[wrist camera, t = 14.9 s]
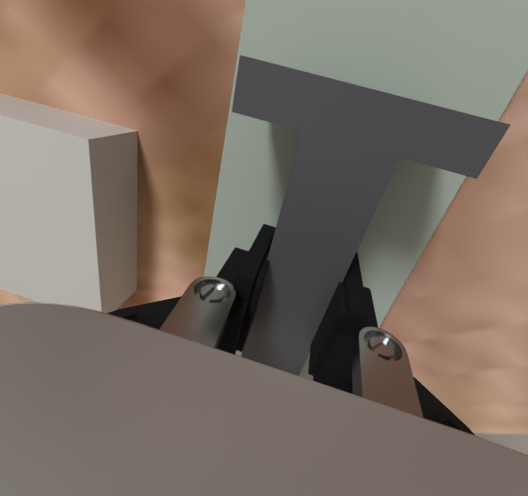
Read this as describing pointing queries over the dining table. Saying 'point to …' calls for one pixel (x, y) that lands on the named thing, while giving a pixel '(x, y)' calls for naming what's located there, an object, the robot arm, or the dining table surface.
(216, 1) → the dining table surface
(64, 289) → the tile
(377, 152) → the grey t-shaped block
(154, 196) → the dining table surface
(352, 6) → the mat
